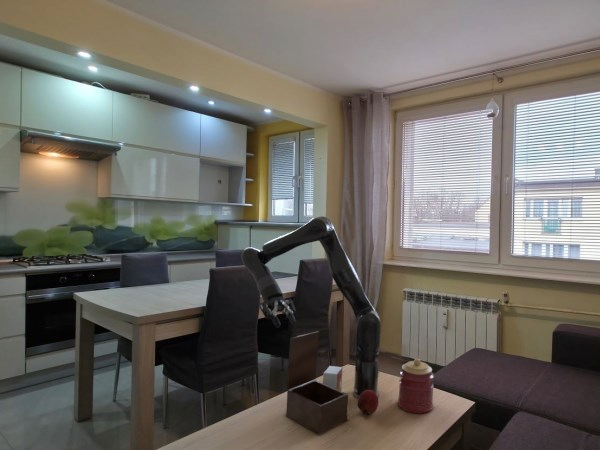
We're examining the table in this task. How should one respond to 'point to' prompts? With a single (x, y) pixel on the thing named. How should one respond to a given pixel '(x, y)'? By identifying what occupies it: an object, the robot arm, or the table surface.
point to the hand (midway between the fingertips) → (286, 325)
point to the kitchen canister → (416, 387)
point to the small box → (333, 377)
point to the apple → (368, 401)
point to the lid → (302, 359)
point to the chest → (317, 406)
